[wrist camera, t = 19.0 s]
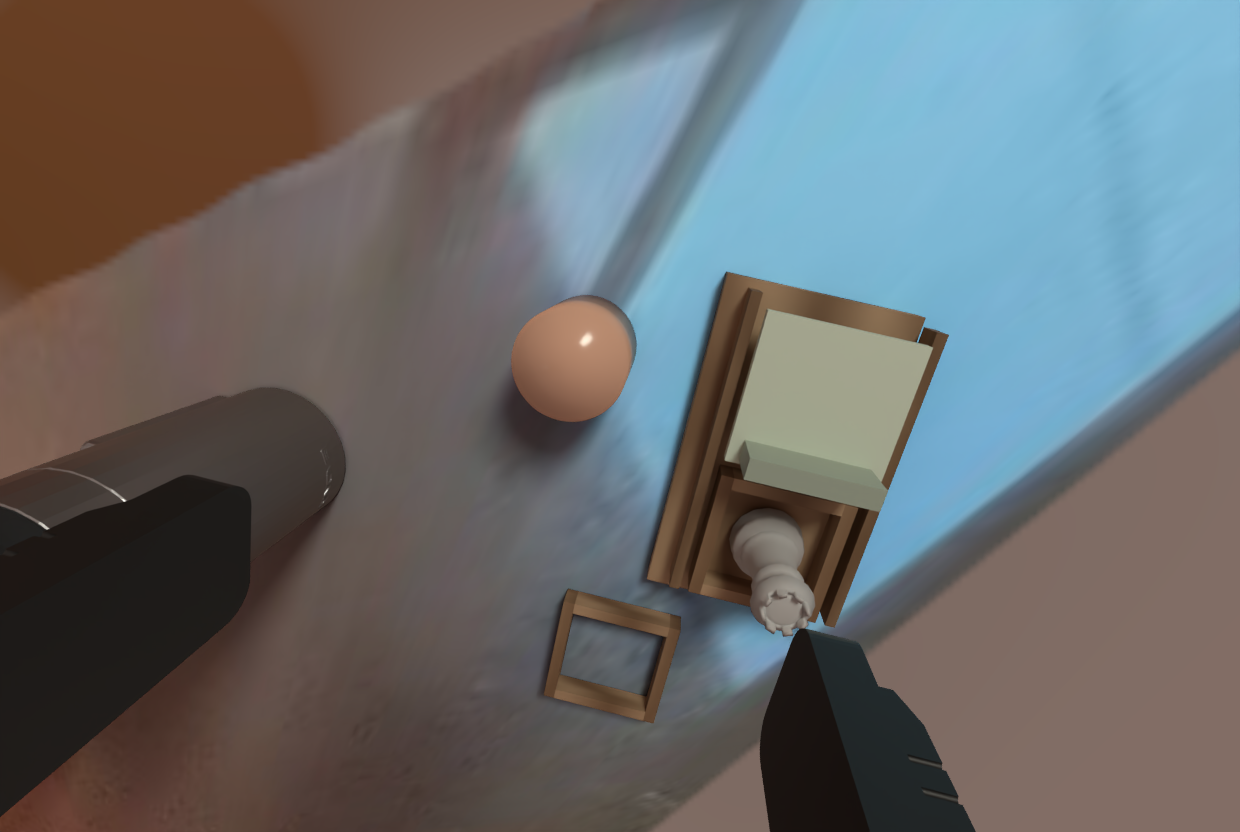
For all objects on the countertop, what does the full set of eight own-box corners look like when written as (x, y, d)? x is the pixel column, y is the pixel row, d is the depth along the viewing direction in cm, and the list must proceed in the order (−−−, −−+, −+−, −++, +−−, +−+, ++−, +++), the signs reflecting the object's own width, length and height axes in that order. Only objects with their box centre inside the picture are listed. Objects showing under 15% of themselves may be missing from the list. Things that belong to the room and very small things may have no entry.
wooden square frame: (548, 680, 44) (543, 695, 42) (568, 588, 41) (563, 601, 40) (654, 707, 43) (653, 723, 42) (680, 616, 41) (680, 630, 39)
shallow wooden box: (648, 569, 40) (645, 595, 37) (726, 271, 34) (730, 275, 31) (818, 611, 40) (829, 640, 37) (929, 317, 33) (952, 325, 31)
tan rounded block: (531, 380, 37) (502, 406, 31) (548, 284, 35) (521, 294, 29) (624, 403, 37) (613, 433, 31) (646, 308, 35) (639, 322, 29)
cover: (723, 456, 34) (727, 480, 30) (766, 308, 31) (776, 317, 28) (872, 491, 33) (892, 520, 30) (927, 345, 31) (957, 358, 27)
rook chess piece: (798, 570, 38) (826, 656, 30) (726, 566, 38) (736, 649, 30) (804, 506, 36) (836, 578, 29) (730, 502, 37) (742, 572, 29)
